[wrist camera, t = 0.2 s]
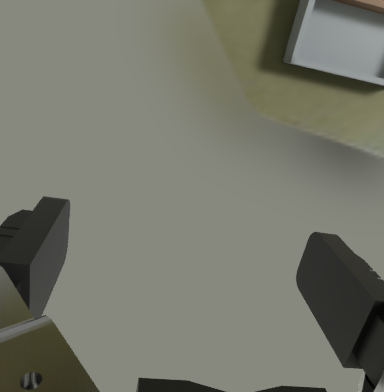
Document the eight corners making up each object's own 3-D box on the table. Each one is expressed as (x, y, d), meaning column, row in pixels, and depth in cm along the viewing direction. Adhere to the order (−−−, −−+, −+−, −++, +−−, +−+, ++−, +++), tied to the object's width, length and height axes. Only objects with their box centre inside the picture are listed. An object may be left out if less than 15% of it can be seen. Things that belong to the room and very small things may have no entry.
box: (302, -7, 35) (312, -11, 33) (416, 24, 37) (433, 23, 35) (282, 61, 37) (290, 63, 35) (390, 87, 39) (404, 90, 37)
